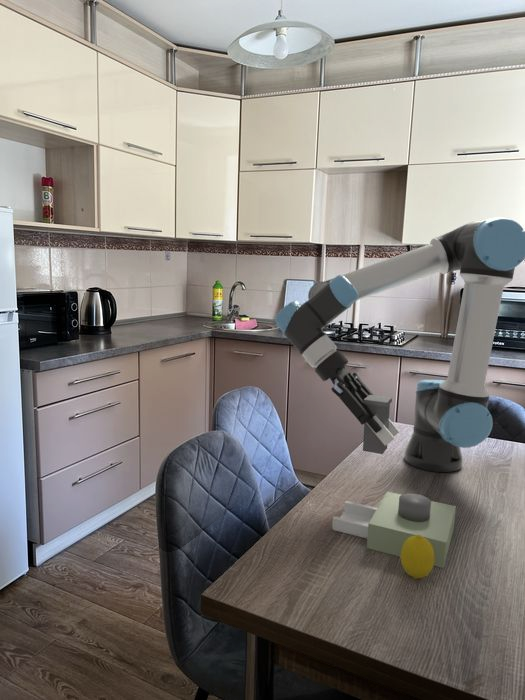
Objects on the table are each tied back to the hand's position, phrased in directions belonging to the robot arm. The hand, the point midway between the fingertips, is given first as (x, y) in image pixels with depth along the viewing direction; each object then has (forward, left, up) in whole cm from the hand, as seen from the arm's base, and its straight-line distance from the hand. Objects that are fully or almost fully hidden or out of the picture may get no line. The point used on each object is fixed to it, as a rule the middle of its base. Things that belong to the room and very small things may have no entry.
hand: (392, 438), depth 117 cm
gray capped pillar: (+4, -1, -3) cm, 5 cm away
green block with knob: (0, +15, -15) cm, 21 cm away
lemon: (-3, +30, -15) cm, 34 cm away
